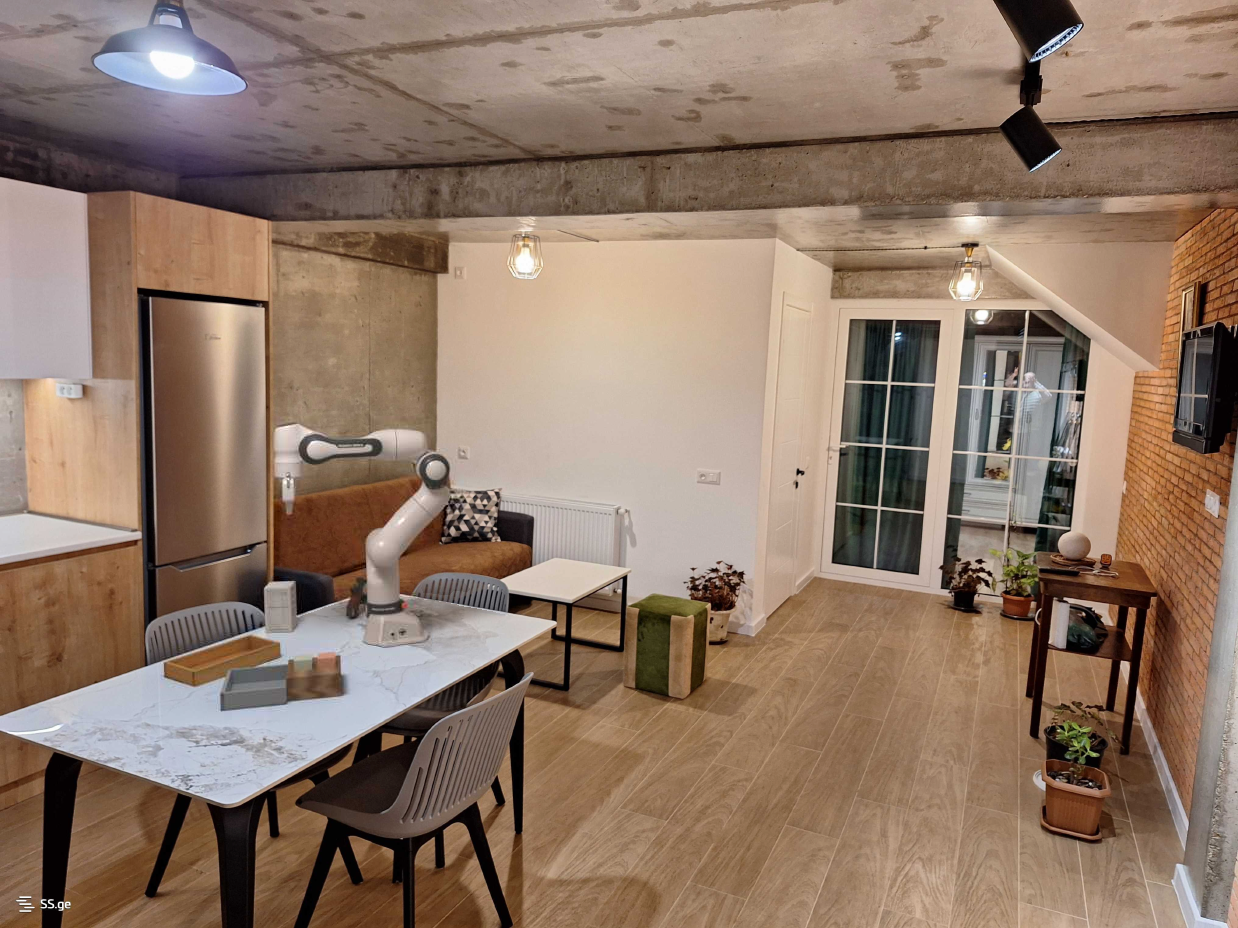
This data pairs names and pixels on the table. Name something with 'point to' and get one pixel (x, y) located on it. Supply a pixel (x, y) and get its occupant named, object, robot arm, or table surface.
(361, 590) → the gun
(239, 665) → the tray
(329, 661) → the terracotta tile
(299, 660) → the sage tile
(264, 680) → the bin
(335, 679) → the walnut ledge
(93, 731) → the table surface
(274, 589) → the white tall block
